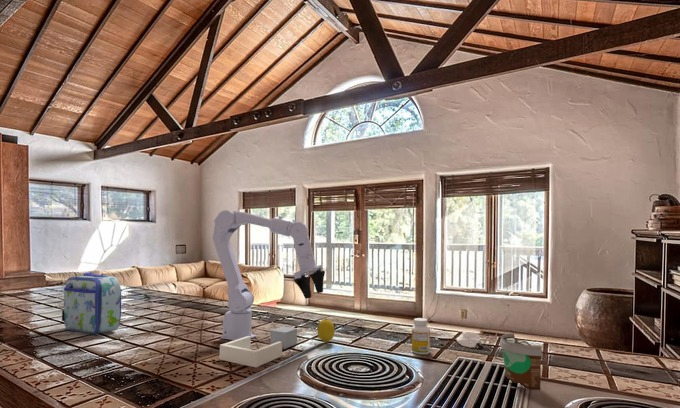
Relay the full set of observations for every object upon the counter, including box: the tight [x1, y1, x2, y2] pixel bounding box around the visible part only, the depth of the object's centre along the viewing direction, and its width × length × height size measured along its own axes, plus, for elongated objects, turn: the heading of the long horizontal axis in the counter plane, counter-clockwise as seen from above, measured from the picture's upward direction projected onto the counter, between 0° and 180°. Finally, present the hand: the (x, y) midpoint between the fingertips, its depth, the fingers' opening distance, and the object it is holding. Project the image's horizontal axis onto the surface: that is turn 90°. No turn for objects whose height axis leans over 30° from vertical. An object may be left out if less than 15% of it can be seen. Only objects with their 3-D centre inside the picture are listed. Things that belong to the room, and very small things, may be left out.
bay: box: [219, 336, 283, 368], centre depth 109 cm, size 14×11×4 cm
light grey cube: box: [269, 326, 298, 350], centre depth 122 cm, size 6×6×5 cm
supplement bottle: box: [411, 317, 431, 356], centre depth 114 cm, size 5×5×10 cm
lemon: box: [317, 317, 336, 344], centre depth 124 cm, size 6×6×8 cm
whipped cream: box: [456, 331, 483, 349], centre depth 122 cm, size 8×7×5 cm
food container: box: [499, 332, 543, 391], centre depth 91 cm, size 12×6×10 cm, turn 5°
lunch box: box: [61, 272, 122, 335], centre depth 141 cm, size 26×11×21 cm, turn 58°
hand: (314, 295), depth 129 cm, fingers open, 7 cm apart
